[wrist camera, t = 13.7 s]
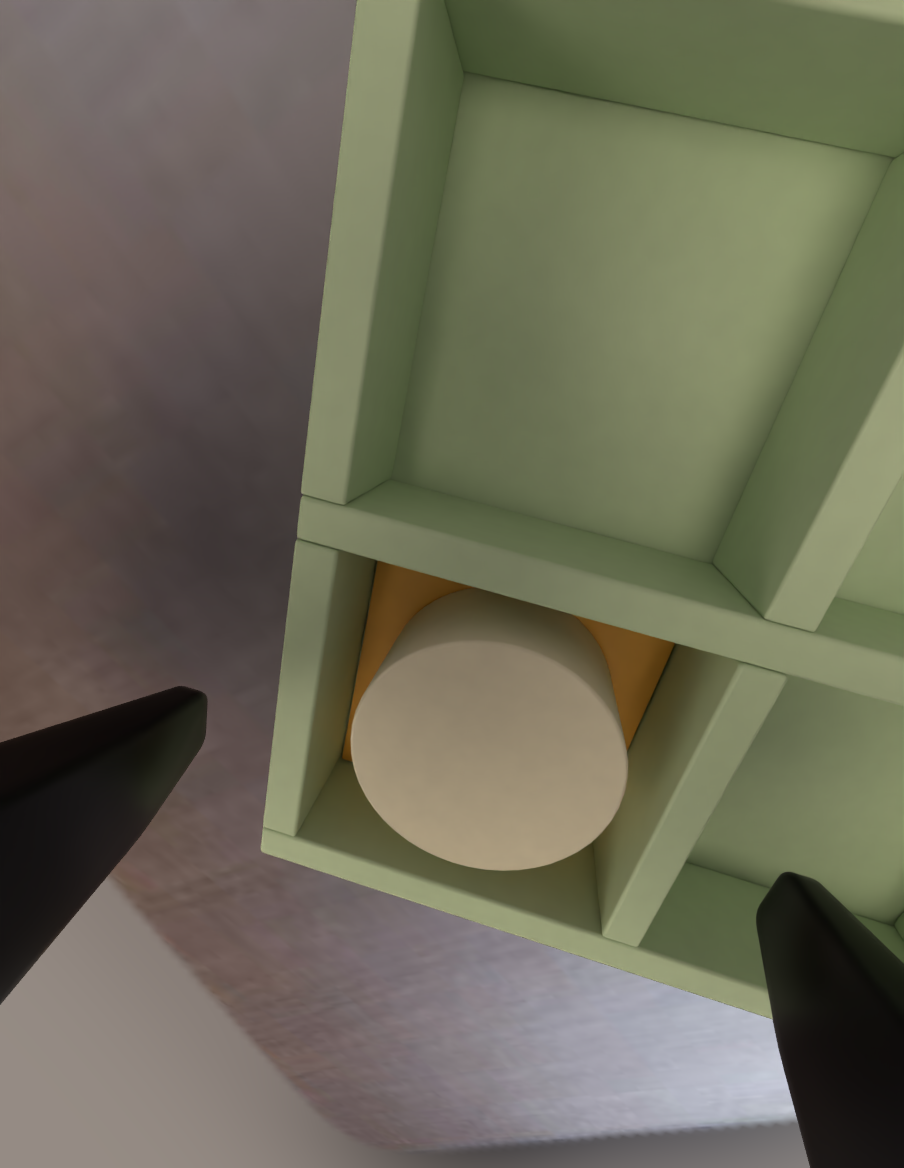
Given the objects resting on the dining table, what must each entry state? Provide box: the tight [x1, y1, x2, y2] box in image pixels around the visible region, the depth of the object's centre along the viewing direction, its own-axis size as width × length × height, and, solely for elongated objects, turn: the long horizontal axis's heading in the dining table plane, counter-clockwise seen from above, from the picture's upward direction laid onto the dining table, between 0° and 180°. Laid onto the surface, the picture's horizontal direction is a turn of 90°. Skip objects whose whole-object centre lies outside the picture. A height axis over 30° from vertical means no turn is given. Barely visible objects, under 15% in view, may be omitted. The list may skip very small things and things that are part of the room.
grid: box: [261, 0, 904, 1019], centre depth 9 cm, size 14×14×3 cm
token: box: [350, 588, 628, 871], centre depth 10 cm, size 5×5×2 cm
